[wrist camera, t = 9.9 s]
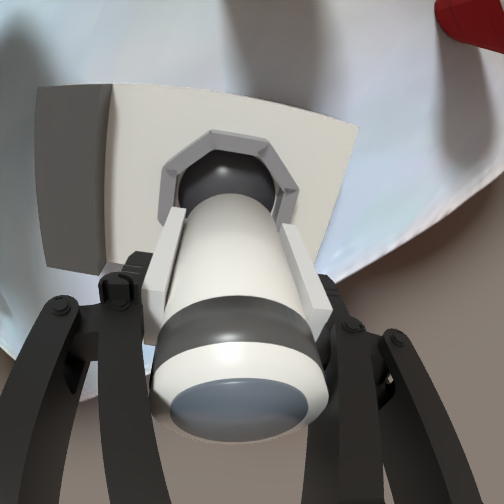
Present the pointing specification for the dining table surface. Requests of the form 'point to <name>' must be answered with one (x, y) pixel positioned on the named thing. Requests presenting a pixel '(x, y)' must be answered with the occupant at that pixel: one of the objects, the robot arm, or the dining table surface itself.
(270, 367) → the lens
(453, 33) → the plastic cup
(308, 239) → the camera body
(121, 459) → the robot arm
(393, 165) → the dining table surface
